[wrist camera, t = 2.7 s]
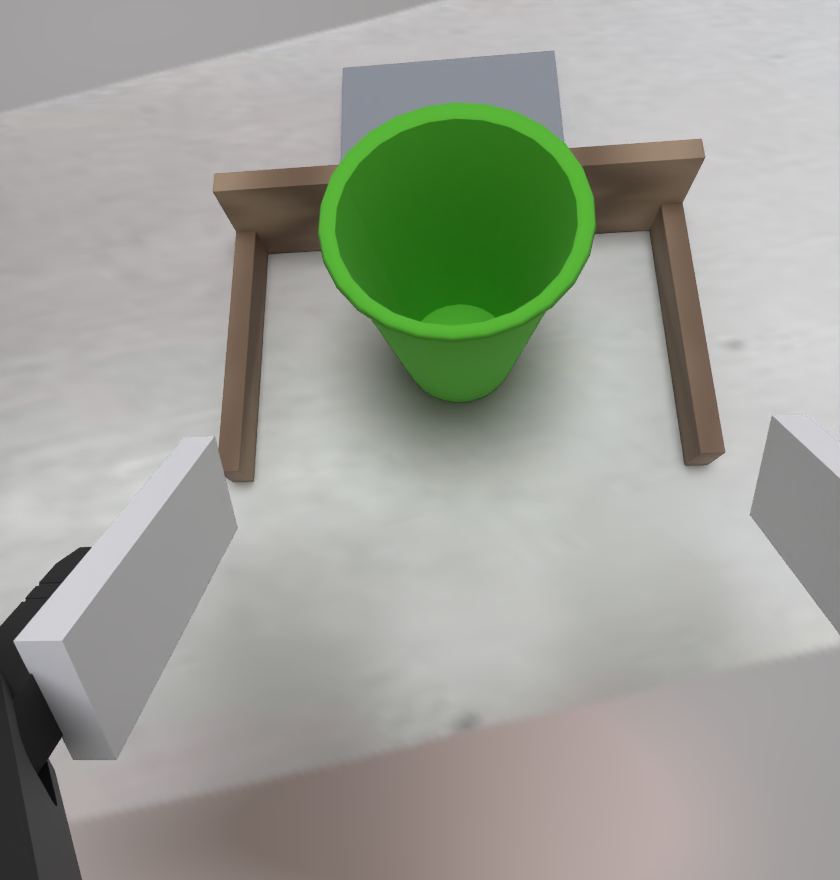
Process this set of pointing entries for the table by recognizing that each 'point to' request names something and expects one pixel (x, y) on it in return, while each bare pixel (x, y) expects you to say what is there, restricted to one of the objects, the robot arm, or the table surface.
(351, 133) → the mat
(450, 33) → the table surface
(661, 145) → the stall
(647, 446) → the table surface
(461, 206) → the cup
